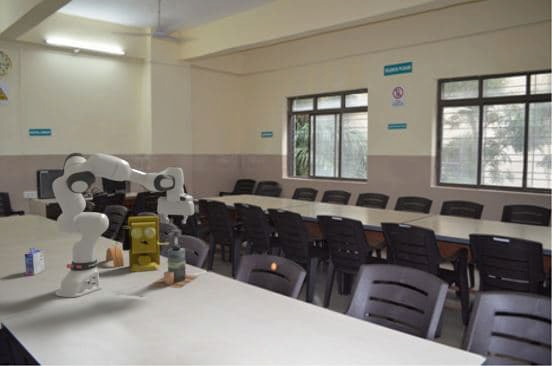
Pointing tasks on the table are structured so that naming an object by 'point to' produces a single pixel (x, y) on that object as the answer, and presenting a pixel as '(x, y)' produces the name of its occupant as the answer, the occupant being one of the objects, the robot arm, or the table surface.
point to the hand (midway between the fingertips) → (175, 223)
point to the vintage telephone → (142, 243)
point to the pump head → (175, 235)
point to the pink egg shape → (169, 278)
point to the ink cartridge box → (34, 262)
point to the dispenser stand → (176, 269)
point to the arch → (111, 256)
